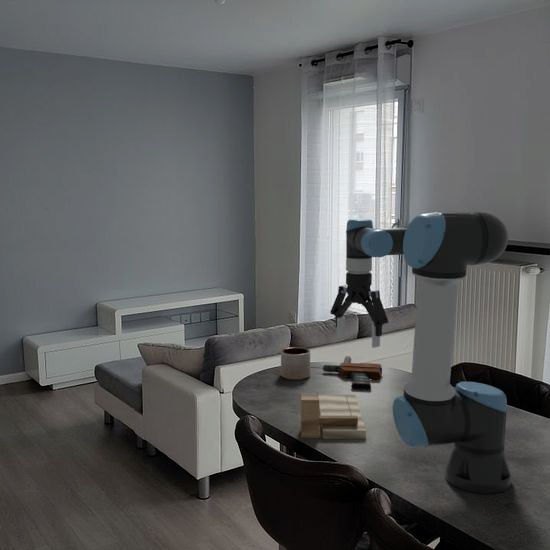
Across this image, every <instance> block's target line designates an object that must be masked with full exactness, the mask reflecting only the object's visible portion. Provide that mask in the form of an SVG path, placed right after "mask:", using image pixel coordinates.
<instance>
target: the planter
mask: <svg viewBox="0 0 550 550" xmlns="http://www.w3.org/2000/svg"><path fill="white" fill-rule="evenodd" d="M280 350H281V351H280V376H281V377H282V378H284V379H286V380H293V381H302V380H305V379H307V378H309V377H310V376H311V368H310V367H311V350H310V349H308V348H306V347H300V346H299V347H297V346H293V347H292V346H291V347H285V348H283V349H280Z"/></svg>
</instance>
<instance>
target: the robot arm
mask: <svg viewBox="0 0 550 550" xmlns="http://www.w3.org/2000/svg"><path fill="white" fill-rule="evenodd" d="M345 236H346V237H345V238H346V244H345V245H346V248H345V250H346V253H345V254H346V255H345V257H346V258H345V260H346V261H345V271H346V273H345V284H344V285H339V286H338V291H337V295H336V297H335V299H334V302H333V304H332V307H331V308H330V309H331V310H330V314H331V315H333V316H334V317H335V327H336V332H337V333H336V340H341V339H346V316H345V313H346V312H347V311H348V309H349V308H350V307H351V305H352V304H358V305H361V306H362V307H364V308H365V310H366V312H367V314H368V315H369V317H370V319H371V321H372V323H373V324H372V325H371V327H372V331H371V348H378V347H381V337H382V335H383V325H386V324H389V318H388V317H387V314H386V311H385V309H384V306H383V303H382V300H381V294H380V290H378V289H377V290H371V287H372V284H373V283H372V281H373V274H372V272H371V271H373V258H384V257H386V256H400V255H403V259H404V261H405V263H406V264H407V266H409V267H410V268H411V274H412V275H413V276H414V277H415V278H416V279H417V295H416V306H415V308H416V309H415V321H414V322H415V323H414V335H413V336H414V337H413V349H412V364H411V365H412V366H411V376H410V379H409V380H408V381H407V382H406V383H405V384H404V386H403V395H399V396H398V397H397V396H396V397H395V398H394V400H393V402H392V418H393V422H394V425H395V428H396V430H397V433H398V435H399V437H400V439H401V440H402V441H403V442H404V443H405V444H406V445H407V446H409V447H412V448H418V447H423V448H428V447H429V446H439V445H447V444H449V445H450V444H453V446H452V449H451V451H450V454H449V456H448V459H447V462H446V464H445V471H444V473H445V474H444V477H445V479H446V481H448V482H449V483H450V485H452V486H454V487H456V488H458V489H461V490H463V491H467V492H471V493H475V494H484V495H485V494H488V495H489V494H497V493H502V492H504V491H507V490H508V489H509V488H510V487H511V484H512V472H511V469H510V465H509V463H508V459H507V456H506V452H505V451H506V449H505V448H506V445H505V444H506V429H507V413H508V403H507V399H508V398H507V396H506V394H505V393H504V391H503V390H501V389H499V388H497V387H494V386H492V385H489V384H486V383H480V382H476V381H459V382H458V383H456V384H455V387H454V386H452V384H451V372H452V369H451V368H452V359H453V347H454V336H455V325H456V313H457V302H458V301H457V300H458V289H459V283H460V282H461V281H463V280H464V279H466V277H467V270H468V266H478V265H485V264H488V263H490V262H493V261H495V260H497V259H498V258H499V257H501V256H502V254H503V253H504V252H505V250H506V248H507V246H508V242H509V233H508V230H507V227H506V225H505V224H504V222H502V220H501V219H500V218H498V217H497V216H495V215H493V214H491V213H488V212H482V211H481V212H480V211H470V212H469V211H468V212H467V211H465V212H464V211H463V212H461V211H460V212H458V211H457V212H456V211H455V212H453V211H452V212H447V211H446V212H440V211H439V212H437V211H433V212H428V213H421V214H418V215H416V216H414V218H412V219H411V221H410V222H409V223H408V225H407V227H389V228H388V227H387V228H386V227H385V228H384V227H383V228H374V226H373V221H372V219H368V218H351V219H348V220H347V222H346V230H345ZM346 295H347V296H346Z"/></svg>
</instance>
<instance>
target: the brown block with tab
mask: <svg viewBox="0 0 550 550" xmlns="http://www.w3.org/2000/svg"><path fill="white" fill-rule="evenodd" d="M319 395H320V394H319V393H318V392H301V393H300V438H301V439H302V438H303V439H304V438H305V439H307V438H309V439H310V438H311V439H314V438H316V439H319V438H320V426H321V425H358V417H357V416H320V413H319Z"/></svg>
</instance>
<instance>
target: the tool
mask: <svg viewBox="0 0 550 550" xmlns="http://www.w3.org/2000/svg"><path fill="white" fill-rule="evenodd" d="M310 369H319V367H318V366H317V367H316V366H310ZM322 370H323V372H326V373H337V374H338V375H339V376H340V377H341V378H342V379H344V378H345V379H344V380H346V379H347V380H353V382H351V385H350V386H351V387H350V388H351V390H361V389H365V391H372V384H371V381H378V380H379V381H380V379H381V377H382V374H383V367H382V364H380V363H369V362H368V363H366V362H360V363H358V362H352V357H351V356H344V359H343V362H340V364H339V365H338V364H337V365H336V364H335V365H334V364H324V365H323V366H322ZM370 379H372V380H370Z"/></svg>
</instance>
